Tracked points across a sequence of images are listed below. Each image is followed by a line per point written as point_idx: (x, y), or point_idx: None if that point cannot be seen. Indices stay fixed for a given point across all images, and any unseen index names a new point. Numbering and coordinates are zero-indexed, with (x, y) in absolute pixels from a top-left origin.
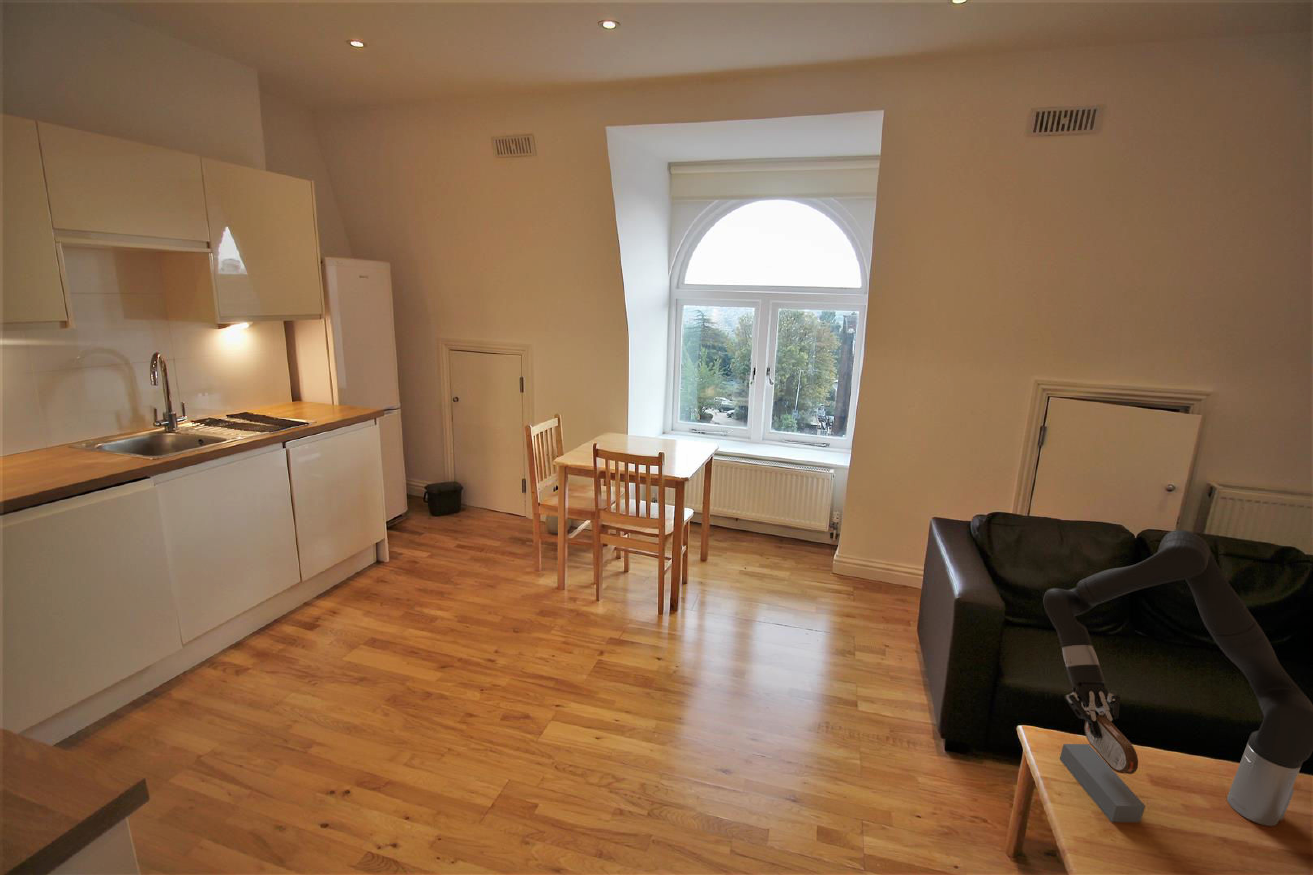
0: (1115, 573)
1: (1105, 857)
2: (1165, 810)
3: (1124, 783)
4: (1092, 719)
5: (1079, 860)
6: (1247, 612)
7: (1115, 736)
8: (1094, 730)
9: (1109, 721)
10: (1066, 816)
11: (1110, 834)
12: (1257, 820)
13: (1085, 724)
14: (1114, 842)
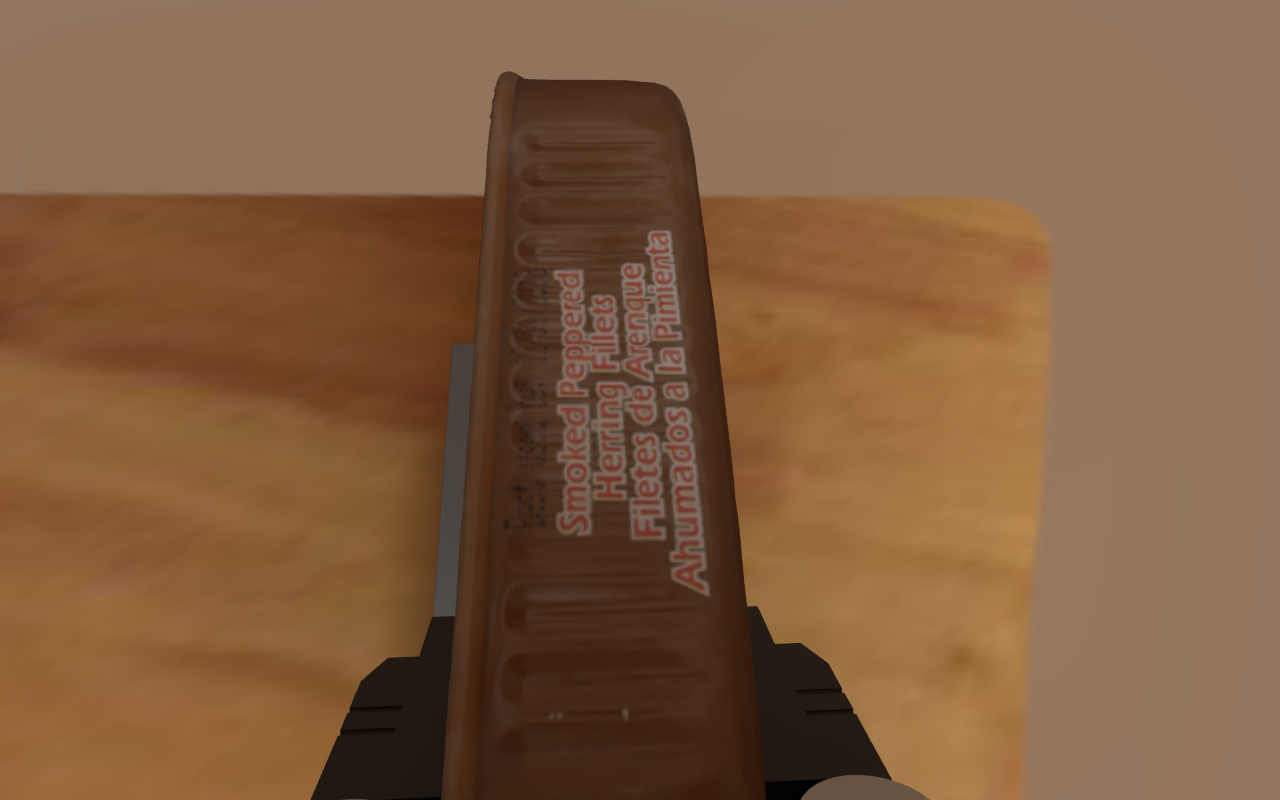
0: None
1: (871, 227)
2: (162, 531)
3: (442, 561)
4: (916, 791)
5: (1026, 214)
6: None
7: (679, 249)
8: (825, 686)
9: (485, 669)
10: (985, 464)
11: (751, 348)
12: None
13: None
14: (760, 302)
